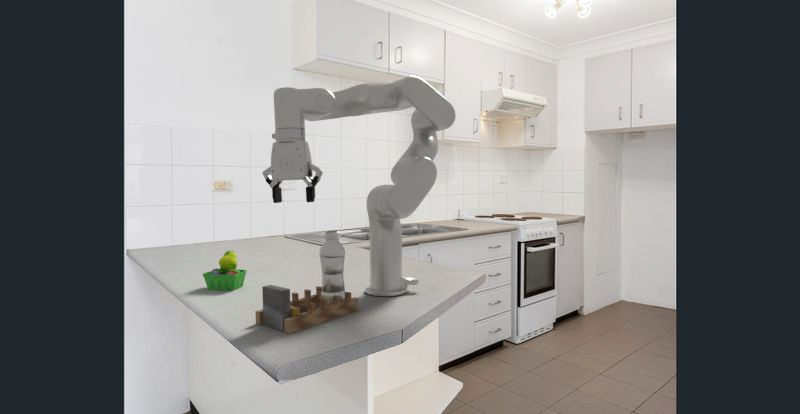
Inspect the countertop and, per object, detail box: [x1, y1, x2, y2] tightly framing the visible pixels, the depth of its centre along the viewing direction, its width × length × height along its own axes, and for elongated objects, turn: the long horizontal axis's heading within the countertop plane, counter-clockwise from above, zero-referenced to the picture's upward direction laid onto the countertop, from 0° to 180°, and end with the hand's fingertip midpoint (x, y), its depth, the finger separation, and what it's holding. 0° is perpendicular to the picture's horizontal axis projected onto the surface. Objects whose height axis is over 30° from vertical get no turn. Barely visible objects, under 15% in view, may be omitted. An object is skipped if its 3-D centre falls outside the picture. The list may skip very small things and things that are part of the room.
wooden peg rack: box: [255, 284, 360, 335], centre depth 106 cm, size 22×12×9 cm, turn 143°
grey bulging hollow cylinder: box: [318, 230, 346, 305], centre depth 112 cm, size 6×7×20 cm
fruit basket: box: [202, 250, 248, 291], centre depth 137 cm, size 11×9×11 cm
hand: (294, 202), depth 115 cm, fingers open, 9 cm apart
